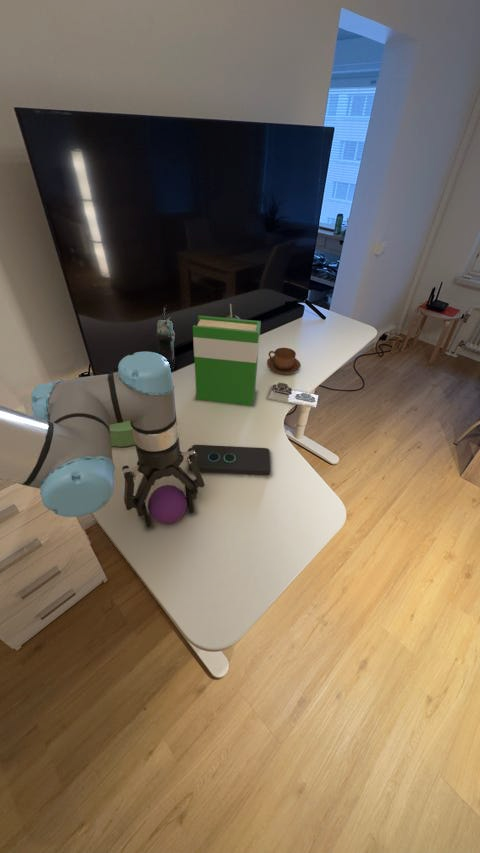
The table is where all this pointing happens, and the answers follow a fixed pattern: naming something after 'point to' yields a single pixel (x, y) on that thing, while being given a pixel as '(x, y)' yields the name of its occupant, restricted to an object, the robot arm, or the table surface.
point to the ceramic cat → (166, 338)
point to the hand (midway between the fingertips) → (169, 514)
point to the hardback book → (226, 359)
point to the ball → (167, 504)
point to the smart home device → (232, 459)
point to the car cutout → (292, 396)
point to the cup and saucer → (283, 361)
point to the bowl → (121, 434)
